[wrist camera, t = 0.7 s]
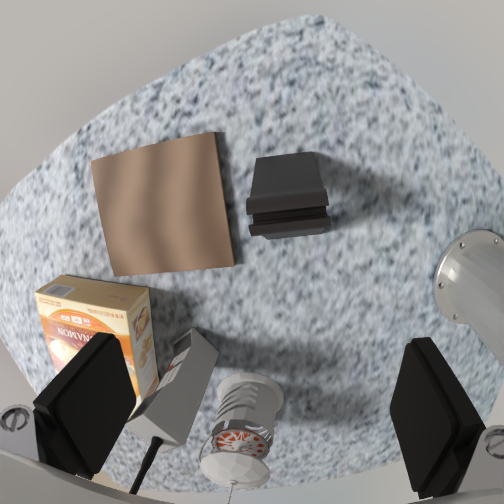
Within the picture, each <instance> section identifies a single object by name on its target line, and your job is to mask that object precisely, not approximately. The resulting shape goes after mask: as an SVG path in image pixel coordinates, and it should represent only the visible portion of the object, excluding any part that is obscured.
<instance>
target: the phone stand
mask: <svg viewBox="0 0 504 504" xmlns="http://www.w3.org/2000/svg"><path fill="white" fill-rule="evenodd" d="M326 206H329V202H328V196H327V191H326V189H324V187H323V184H322V181H321V178H320V175H319V171H318V168H317V165H316V162H315V159H314V156H313V153H312V152H303V153H294V154H285V155H277V156H270V157H262V158H256V163H255V169H254V175H253V182H252V188H251V194H250V197H249V198H247V200H246V212H247V215H251V214H253V224H252V225H249V231H250V234H251V236H260V235H262V236H264V237H265V238H266V239H268V240H270V239H279V238H288V237H297V236H307V235H316V234H322V232H323V230H324V228H330V216H327V213H326Z"/></svg>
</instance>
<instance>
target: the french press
mask: <svg viewBox="0 0 504 504" xmlns="http://www.w3.org/2000/svg"><path fill="white" fill-rule="evenodd" d="M217 395H218V400H219V402H220V407H219V410H218V415H217V417H216V420H215V423H214V427H213V430H212V433H211V434H210V435H209V436H208V437H207V439H206V440H205V442H204V444H203V445H202V447H201V450H200V453H199V464H200V467H201V469H202V472H203V474H205V475H206V476H207V477H208V478H209V479H210V480H212V481H213V482H215V483H217V484H218V485H221V486H225V487H229V488H230V492H229V497H228V501H227V504H229V501H230V497H231V492H232V488H233V489H237V490H240V489H247V488H254V487H258V486H261V485H263V484H265V483H266V482H267V481H268V480H269V478H270V471H269V468H268V467H267V466H266V465H265V464H264V462H263V461H262V460H261V459H263V458H265V457H266V456H267V454H268V453H269V451H270V450H269V449H270V447H271V445H272V444H273V437H274V427H275V419H274V417H275V418H276V416H275V415H276V413H277V412H278V411H280V409H281V407H282V405H283V403H284V394H283V391H282V390H281V388H280V387H279V385H278V384H277V383H276V382H274V381H273V380H271V379H270V378H268V377H267V376H263V375H260V374H256V373H237V374H234V375H231V376H228V377H227V378H226V379H224V380H223V381H222V382H221V383H220V384H219V387H218V390H217ZM226 420H230V421H229V425H228V429H226V430H223V427H224V423H225V421H226ZM245 425H247V426H250V427H261V426H263V427H264V428H262V429H260V430H250V429H248V428H245ZM266 429H267V432H266V433H264V434H262V435H259V434H257V433H260V432H263V431H265V430H266ZM268 432H269V434H268V436H267V437H266V438H265V439H264V438H263V437H265V436H266V435H267V433H268ZM270 435H271V438H270V439H269V440H268V442H266V440H267V439H268V438H269V436H270ZM211 436H212V437H213V439H212V441H211V443H212V446H213V448H212V450H211V452H210V454H209V455H207V456H205V457H204V458H203V459H202V461H201V460H200V456H201V453H202V450H203V447H204V445H205V444H206V442H207V441H208V439H209V438H210V437H211ZM213 450H215V451H216V452H213Z"/></svg>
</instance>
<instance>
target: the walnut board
mask: <svg viewBox="0 0 504 504" xmlns="http://www.w3.org/2000/svg"><path fill="white" fill-rule="evenodd" d="M91 168H92V174H93V180H94V186H95V192H96V197H97V203H98V208H99V213H100V218H101V223H102V227H103V232H104V236H105V241H106V245H107V249H108V254H109V258H110V262H111V266H112V269H113V273H114V277H115V276H128V275H140V274H152V273H164V272H176V271H188V270H199V269H210V268H222V267H233V266H235V264H236V262H235V255H234V249H233V243H232V236H231V230H230V224H229V217H228V211H227V204H226V198H225V191H224V185H223V178H222V171H221V165H220V158H219V151H218V144H217V137H216V132H209V133H204V134H198V135H193V136H188V137H184V138H179V139H174V140H170V141H165V142H161V143H157V144H152V145H148V146H144V147H140V148H136V149H132V150H128V151H125V152H121V153H117V154H114V155H110V156H106V157H103V158H100V159H96V160H93V161H91Z"/></svg>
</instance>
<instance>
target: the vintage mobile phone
mask: <svg viewBox="0 0 504 504" xmlns="http://www.w3.org/2000/svg"><path fill="white" fill-rule="evenodd" d="M173 356H174V358H173V359H172V361H171V363H170V364H169V366H168V368H167V370H166V371H165V373H164V375H163V377H162V378H161V380H160V382H159V384H158V385H157V387H156V389H155V391H154V392H153V394H152V395H150V396H148V397H146V398H144V400H143V401H142V402H141V404H140V405H139V406H138V408H137V409H136V410H135V411H134V413H133V414H132V415H131V417H130V418H129V419H128V421H127V422H126V424H125V426H126V427H127V428H128V429H130V430H131V431H132V432H133V433H134V434H136V435H137V436H138V437H139V438H141V439H142V440H143V441H145V442H146V443H147V444H148V445H150V447H149V449H148V451H147V453H146V455H145V457H144V459H143V461H142V465H141V469H140V471H139V473H138V475H137V477H136V479H135V481H134V483H133V486H132V488H131V490H130V492H129V493H130V494H134V495H136V494H137V492H138V490H139V488H140V485H141V483H142V481H143V479H144V477H145V474H146V472H147V471H148V469H149V468H150V466H151V464H152V462H153V460H154V458H155V456H156V453H157V451H158V452H159V453H164V452H166V451H169V450H172V449H174V448H177V447H179V446H181V445H184V444H185V443H186V441H187V438H188V435H189V433H190V430H191V427H192V425H193V422H194V419H195V417H196V414H197V411H198V409H199V406H200V404H201V401H202V398H203V396H204V393H205V390H206V388H207V385H208V382H209V380H210V377H211V374H212V372H213V369H214V366H215V364H216V361H217V358H218V356H219V352H218V351H217V350H216V349H215V348H214V347H213V346H212V345H211V344H210V343H209V342H208V341H207V340H206V339H205V338H204V337H203V336H202V335H201V334H200V333H199V332H198V331H197V330H196V329H195V328H194V327H193V328H191V329H190V330H189V331H187V332H186V333H185V334H184V335H182V336H181V337H180V338H178V339H177V340H176V341H175V342H174V344H173Z"/></svg>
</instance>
